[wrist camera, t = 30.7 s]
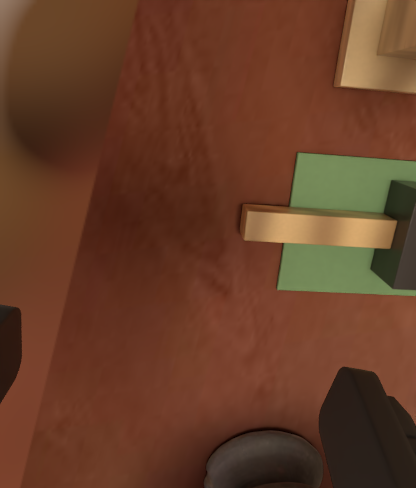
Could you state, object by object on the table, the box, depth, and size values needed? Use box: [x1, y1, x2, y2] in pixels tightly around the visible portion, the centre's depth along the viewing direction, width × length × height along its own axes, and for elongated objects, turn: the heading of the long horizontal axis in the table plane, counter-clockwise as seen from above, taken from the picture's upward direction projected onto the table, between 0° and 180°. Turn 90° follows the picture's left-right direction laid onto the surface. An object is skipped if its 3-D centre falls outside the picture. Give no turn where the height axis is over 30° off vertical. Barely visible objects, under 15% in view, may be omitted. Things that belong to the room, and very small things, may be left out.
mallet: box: [240, 180, 416, 290], centre depth 31 cm, size 16×8×4 cm, turn 85°
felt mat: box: [277, 152, 416, 296], centre depth 34 cm, size 20×12×1 cm, turn 85°
